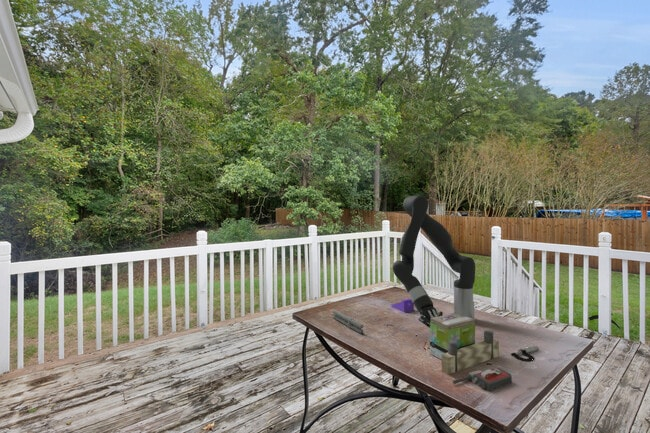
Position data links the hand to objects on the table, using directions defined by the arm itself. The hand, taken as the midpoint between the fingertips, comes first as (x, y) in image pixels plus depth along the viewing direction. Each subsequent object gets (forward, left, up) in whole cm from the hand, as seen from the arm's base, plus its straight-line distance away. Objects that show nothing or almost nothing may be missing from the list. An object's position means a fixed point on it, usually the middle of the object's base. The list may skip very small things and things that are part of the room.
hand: (441, 335), depth 134 cm
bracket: (-22, -49, -6) cm, 54 cm away
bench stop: (0, +14, -6) cm, 15 cm away
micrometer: (-26, +21, -6) cm, 34 cm away
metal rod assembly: (+20, -42, -6) cm, 47 cm away
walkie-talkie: (+8, +25, -6) cm, 27 cm away
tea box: (0, +6, -6) cm, 8 cm away
